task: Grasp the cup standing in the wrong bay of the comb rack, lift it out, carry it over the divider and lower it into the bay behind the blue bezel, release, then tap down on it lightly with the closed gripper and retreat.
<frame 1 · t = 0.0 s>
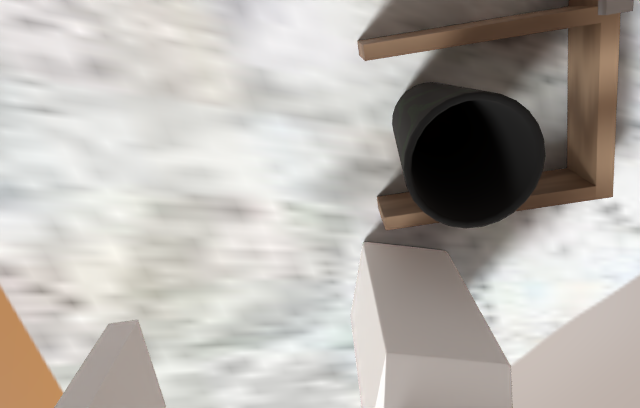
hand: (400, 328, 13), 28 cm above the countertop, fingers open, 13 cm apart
milk carton: (396, 281, 45), on the countertop
cup: (428, 119, 40), on the countertop
comb rack: (477, 28, 37), on the countertop
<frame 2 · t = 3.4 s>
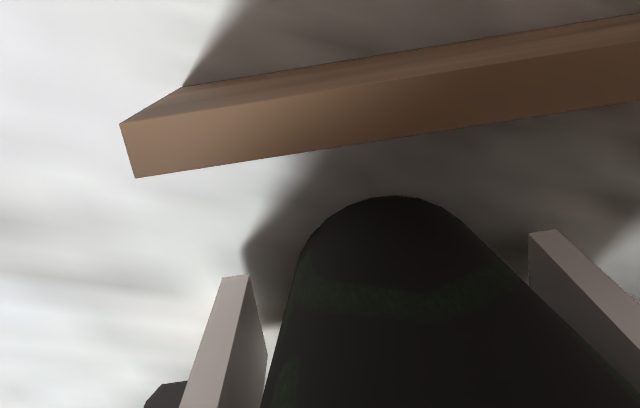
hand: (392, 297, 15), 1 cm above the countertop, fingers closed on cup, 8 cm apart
cup: (388, 281, 16), on the countertop, touching gripper
comb rack: (522, 52, 13), on the countertop
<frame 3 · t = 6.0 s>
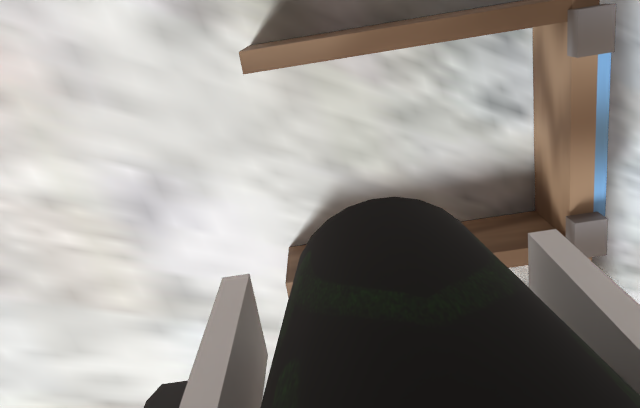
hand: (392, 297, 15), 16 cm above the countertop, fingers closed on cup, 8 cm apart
cup: (388, 282, 16), point 16 cm above the countertop, touching gripper
comb rack: (429, 233, 32), on the countertop
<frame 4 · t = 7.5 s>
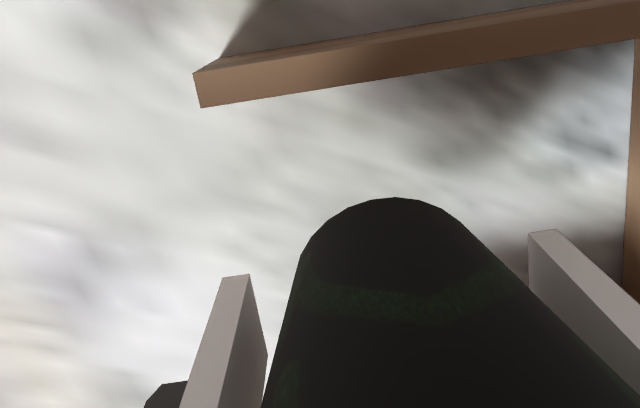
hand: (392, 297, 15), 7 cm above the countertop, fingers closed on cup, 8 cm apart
cup: (388, 283, 16), point 6 cm above the countertop, touching gripper
comb rack: (473, 317, 23), on the countertop
when the fingers open (2 cm above the countertop, at t = 8.9 s): cup drops 1 cm, on the countertop.
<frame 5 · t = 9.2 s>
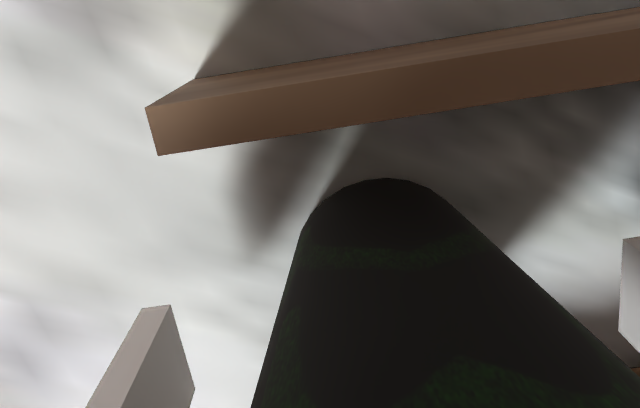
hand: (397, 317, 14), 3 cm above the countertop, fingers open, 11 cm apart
cup: (381, 258, 17), on the countertop
comb rack: (513, 395, 19), on the countertop
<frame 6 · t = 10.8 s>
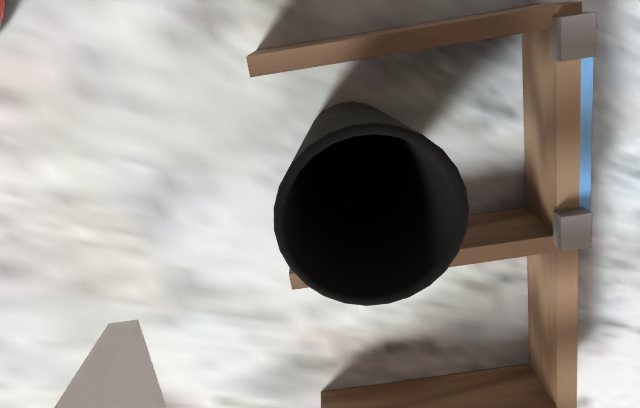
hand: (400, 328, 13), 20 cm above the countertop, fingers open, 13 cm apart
cup: (351, 147, 32), on the countertop
comb rack: (425, 229, 34), on the countertop
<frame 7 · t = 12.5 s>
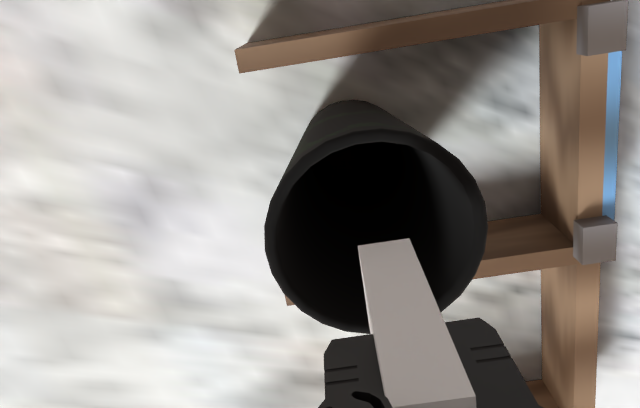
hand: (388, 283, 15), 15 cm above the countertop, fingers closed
cup: (351, 149, 29), on the countertop
comb rack: (432, 237, 31), on the countertop
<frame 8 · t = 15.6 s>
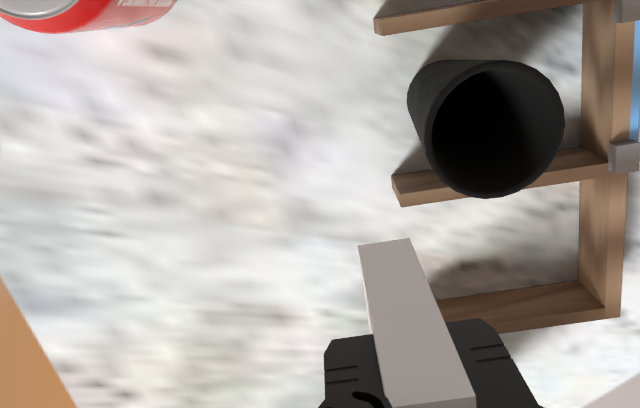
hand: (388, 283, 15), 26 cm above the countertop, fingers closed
cup: (442, 97, 40), on the countertop
comb rack: (499, 165, 42), on the countertop
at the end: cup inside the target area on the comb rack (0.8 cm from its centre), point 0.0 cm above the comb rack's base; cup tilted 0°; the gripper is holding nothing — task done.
